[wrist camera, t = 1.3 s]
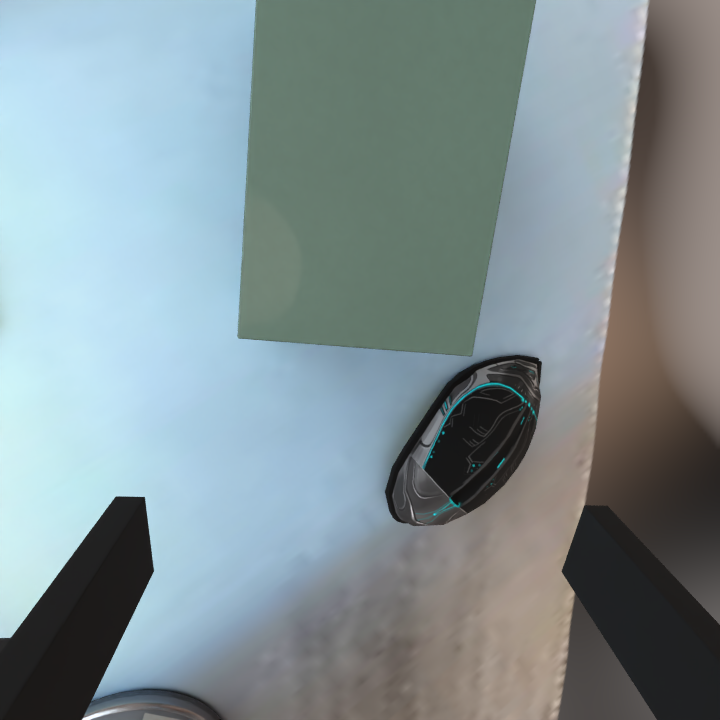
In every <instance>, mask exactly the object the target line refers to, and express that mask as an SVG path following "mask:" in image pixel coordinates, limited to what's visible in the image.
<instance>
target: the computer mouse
mask: <svg viewBox="0 0 720 720" xmlns="http://www.w3.org/2000/svg"><path fill="white" fill-rule="evenodd" d="M541 365H542V362H541V361H539V358H535V357H528V356H520V355H515V356H506V357H499V358H494V359H490V360H486V361H483V362H481V363H478V364H475V365H473V366H471V367H469V368H467V369H465V370H463V371H462V372H460V373H458V374H457V375H456V376H455V377H454V378H453V379H452V380H451V381H449V382H448V383H447V384H446V386H445V387H444V389H443V390H442V392H441V393H440V394H439V396H438V397H437V399H436V400H435V401H434V403H433V404H432V406H431V407H430V409H429V410H428V412H427V413H426V415H425V416H424V418H423V419H422V421H421V422H420V424H419V425H418V427H417V428H416V430H415V431H414V433H413V434H412V436H411V437H410V439H409V440H408V442H407V443H406V445H405V446H404V448H403V449H402V451H401V453H400V454H399V456H398V458H397V460H396V461H395V463H394V465H393V466H392V469H391V473H390V476H389V480H388V483H387V487H386V490H385V494H386V498H387V503H388V507H389V511H390V513H391V515H392V517H393V518H394V519H395V520H396V521H398V522H401V523H409V524H411V525H413V526H425V525H444V524H446V523H448V522H450V521H452V520H455V519H457V518H459V517H461V516H463V515H465V514H468V513H469V512H471V511H473V510H474V509H476V508H478V507H479V506H481V505H483V504H484V503H485V502H486V501H487V500H489V499H490V498H491V497H492V496H493V495H494V494H495V493H496V492H497V491H498V490H499V489H500V488H501V487H502V486H504V485H505V483H506V482H507V481H508V479H509V478H510V477H511V475H512V474H513V473H514V472H515V470H516V469H517V468H518V466H519V464H520V463H521V461H522V459H523V458H524V456H525V454H526V452H527V450H528V448H529V445H530V443H531V440H532V437H533V435H534V432H535V429H536V424H537V418H538V413H539V407H540V400H541V394H540V389H539V385H540V377H541Z"/></svg>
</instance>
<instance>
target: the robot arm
mask: <svg viewBox="0 0 720 720" xmlns="http://www.w3.org/2000/svg"><path fill="white" fill-rule="evenodd" d="M153 572H154V568H153V560H152V552H151V544H150V536H149V528H148V519H147V511H146V503H145V497H115V498H114V500H113V501H112V502H111V504H110V505H109V506H108V508H107V509H106V511H105V512H104V513H103V515H102V516H101V517H100V519H99V520H98V521H97V523H96V524H95V525H94V527H93V528H92V529H91V531H90V532H89V533H88V535H87V536H86V537H85V539H84V540H83V542H82V543H81V544H80V546H79V547H78V548H77V550H76V551H75V552H74V554H73V555H72V556H71V558H70V559H69V560H68V562H67V563H66V564H65V566H64V567H63V569H62V570H61V571H60V573H59V574H58V575H57V577H56V578H55V579H54V581H53V582H52V583H51V585H50V586H49V587H48V589H47V590H46V591H45V593H44V594H43V596H42V597H41V598H40V600H39V601H38V602H37V604H36V605H35V606H34V608H33V609H32V610H31V612H30V613H29V614H28V616H27V617H26V618H25V620H24V621H23V623H22V624H21V625H20V627H19V628H18V629H17V631H16V632H15V633H14V635H13V636H12V637H11V638H0V720H221V719H220V718H219V717H218V716H217V714H216V713H215V712H213V711H212V710H211V709H210V708H209V707H207V706H206V705H205V704H203V703H201V702H199V701H198V700H196V699H193V698H191V697H188V696H185V695H182V694H178V693H174V692H168V691H160V690H138V691H129V692H122V693H118V694H113V695H109V696H106V697H103V698H100V699H97V700H94V701H92V702H91V700H92V698H93V696H94V694H95V692H96V690H97V688H98V686H99V684H100V682H101V680H102V678H103V676H104V673H105V671H106V669H107V667H108V665H109V663H110V661H111V659H112V657H113V655H114V653H115V651H116V649H117V647H118V644H119V642H120V640H121V638H122V636H123V634H124V632H125V630H126V628H127V626H128V624H129V622H130V620H131V618H132V615H133V613H134V611H135V609H136V607H137V605H138V603H139V601H140V599H141V597H142V595H143V593H144V591H145V589H146V586H147V584H148V582H149V580H150V578H151V576H152V574H153ZM562 573H563V575H564V576H565V578H566V579H567V581H568V582H569V584H570V585H571V587H572V589H573V590H574V592H575V593H576V595H577V596H578V598H579V599H580V601H581V603H582V604H583V606H584V607H585V609H586V610H587V612H588V613H589V615H590V616H591V618H592V619H593V621H594V622H595V624H596V626H597V627H598V629H599V630H600V632H601V633H602V635H603V637H604V638H605V640H606V641H607V643H608V644H609V646H610V647H611V649H612V650H613V652H614V654H615V655H616V657H617V658H618V660H619V661H620V663H621V664H622V666H623V668H624V669H625V671H626V672H627V674H628V675H629V677H630V678H631V680H632V682H633V683H634V685H635V686H636V687H637V689H638V691H639V692H640V694H641V695H642V697H643V698H644V700H645V702H646V703H647V705H648V706H649V708H650V709H651V711H652V712H653V714H654V716H655V717H656V719H657V720H720V625H719V624H718V623H717V621H716V620H715V619H714V618H713V617H712V616H711V615H710V614H709V613H708V612H707V611H706V610H705V609H704V608H703V607H702V606H701V605H700V603H699V602H698V601H697V600H696V599H695V598H694V597H693V596H692V595H691V594H690V593H689V592H688V591H687V590H686V589H685V588H684V587H683V586H682V584H680V582H679V581H678V580H677V579H676V578H675V577H674V576H673V575H672V574H671V573H670V572H669V571H668V570H667V569H666V567H665V566H664V565H663V564H662V563H661V562H660V561H659V560H658V559H657V558H656V557H655V556H654V555H653V554H652V553H651V552H650V550H649V549H647V547H646V546H645V545H644V544H643V543H642V542H641V541H640V540H639V539H638V538H637V537H636V536H635V535H634V534H633V532H632V531H631V530H630V529H629V528H628V527H627V526H626V525H625V524H624V523H623V522H622V521H621V520H620V519H619V518H618V517H617V516H616V515H615V513H614V512H613V511H612V510H611V509H610V508H609V507H608V506H587V505H585V506H584V508H583V511H582V514H581V517H580V520H579V523H578V526H577V529H576V532H575V535H574V537H573V540H572V543H571V546H570V549H569V552H568V555H567V558H566V561H565V563H564V566H563V569H562Z"/></svg>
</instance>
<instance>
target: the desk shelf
mask: <svg viewBox="0 0 720 720" xmlns="http://www.w3.org/2000/svg"><path fill="white" fill-rule="evenodd" d="M535 4H536V0H256V11H255V29H254V47H253V66H252V84H251V102H250V120H249V138H248V156H247V175H246V193H245V211H244V229H243V247H242V265H241V284H240V302H239V320H238V338H240V339H253V340H266V341H279V342H292V343H305V344H318V345H330V346H343V347H356V348H369V349H382V350H395V351H408V352H421V353H434V354H447V355H460V356H472V353H473V347H474V342H475V336H476V331H477V325H478V320H479V314H480V309H481V303H482V297H483V292H484V286H485V281H486V275H487V270H488V264H489V259H490V253H491V248H492V242H493V237H494V231H495V225H496V220H497V214H498V209H499V203H500V198H501V192H502V187H503V181H504V176H505V170H506V164H507V159H508V153H509V148H510V142H511V137H512V131H513V126H514V120H515V115H516V109H517V104H518V98H519V92H520V87H521V81H522V76H523V70H524V65H525V59H526V54H527V48H528V43H529V37H530V32H531V26H532V20H533V15H534V9H535Z"/></svg>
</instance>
